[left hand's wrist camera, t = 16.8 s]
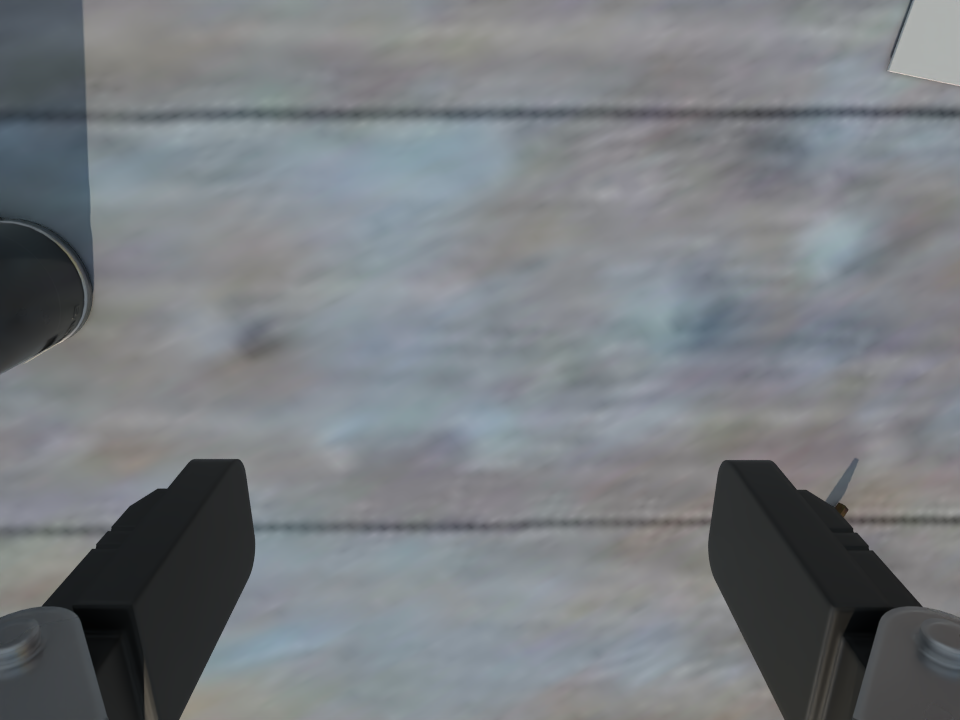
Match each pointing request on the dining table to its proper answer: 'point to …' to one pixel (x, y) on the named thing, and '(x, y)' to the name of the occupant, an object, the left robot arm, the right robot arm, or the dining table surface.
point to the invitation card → (930, 42)
